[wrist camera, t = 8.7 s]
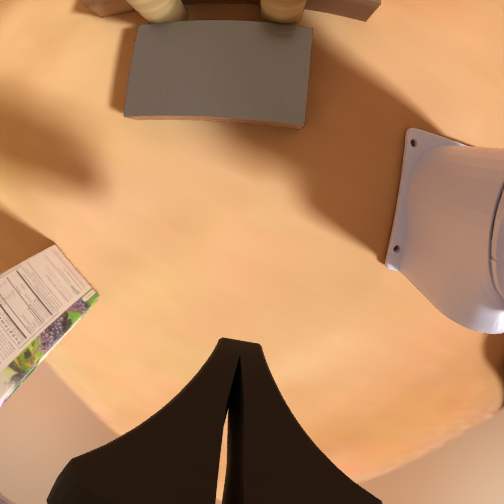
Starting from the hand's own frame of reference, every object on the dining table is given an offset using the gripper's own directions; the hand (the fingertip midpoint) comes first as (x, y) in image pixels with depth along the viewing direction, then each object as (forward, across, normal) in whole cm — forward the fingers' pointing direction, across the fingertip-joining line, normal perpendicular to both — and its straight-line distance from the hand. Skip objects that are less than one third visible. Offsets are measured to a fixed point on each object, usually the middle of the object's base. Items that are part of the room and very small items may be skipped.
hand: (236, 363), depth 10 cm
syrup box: (+10, +15, +5) cm, 19 cm away
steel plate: (+10, +4, -11) cm, 16 cm away
